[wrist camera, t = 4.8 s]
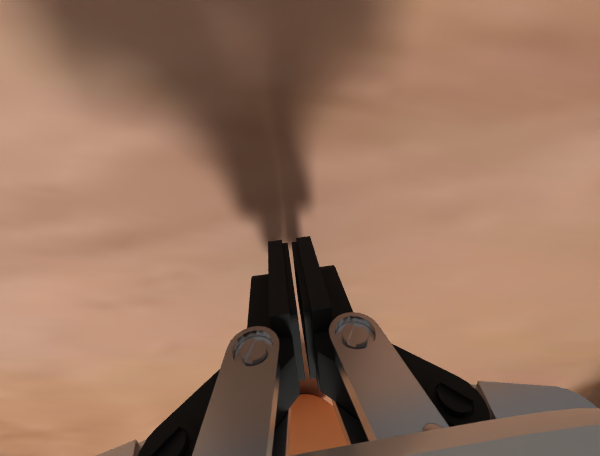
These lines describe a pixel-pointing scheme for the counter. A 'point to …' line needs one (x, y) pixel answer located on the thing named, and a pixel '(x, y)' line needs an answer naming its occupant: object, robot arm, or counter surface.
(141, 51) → the counter surface
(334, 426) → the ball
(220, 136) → the counter surface
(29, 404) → the counter surface
